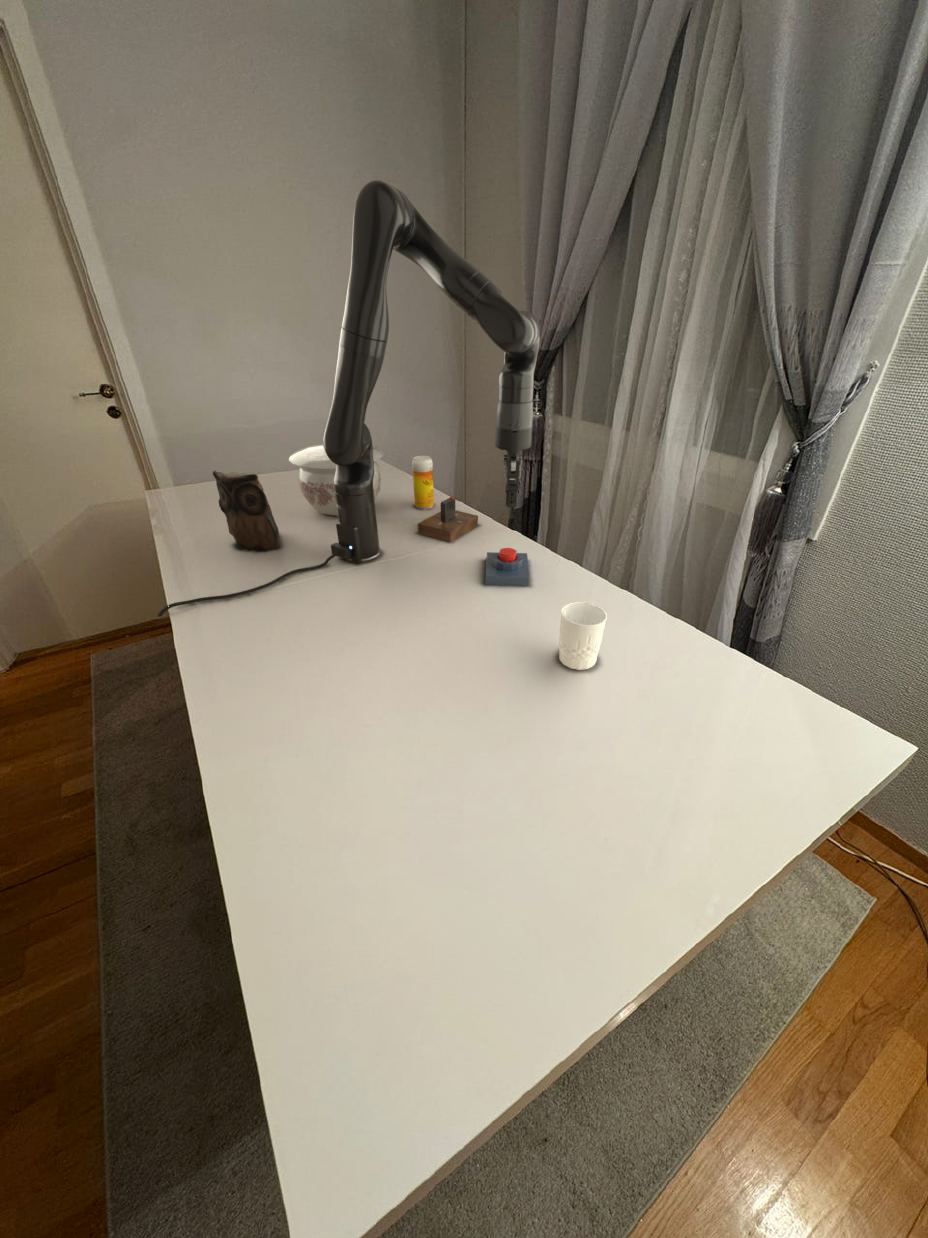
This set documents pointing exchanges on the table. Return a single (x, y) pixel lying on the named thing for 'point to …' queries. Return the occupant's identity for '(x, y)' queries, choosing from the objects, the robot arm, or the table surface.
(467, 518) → the dial panel
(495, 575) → the button box
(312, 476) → the chamber pot
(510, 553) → the press knob
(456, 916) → the table surface
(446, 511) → the dial knob
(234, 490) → the owl
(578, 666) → the white cup
